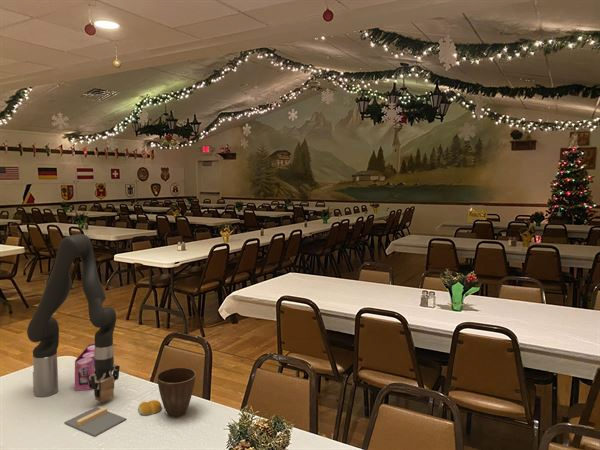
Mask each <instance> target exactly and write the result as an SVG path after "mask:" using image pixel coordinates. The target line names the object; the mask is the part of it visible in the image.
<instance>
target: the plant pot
mask: <svg viewBox="0 0 600 450" xmlns="http://www.w3.org/2000/svg"><path fill="white" fill-rule="evenodd" d="M156 380H157V385H158V391H159V396H160V398H161V402H162V405H163V408H164V411H165V413H166V415H167V416H168V417H170V418H180V417H183V416H184V415H186V413H187V411H188V409H189V406H190V403H191V399H192V397H193V392H194V387H195V381H196V371H195V370H193V369H192V368H188V367H173V368H167V369H165V370H163V371H160V372H159V373H158V374H157V376H156Z"/></svg>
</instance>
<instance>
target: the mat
mask: <svg viewBox="0 0 600 450" xmlns="http://www.w3.org/2000/svg"><path fill="white" fill-rule="evenodd" d="M126 420H127V418H126V417H123V416H121V415H118V414H116V413H113V412H110V411H109V410H108V408H106V407H102V408H100V407H97V406H95V407H93V408H91V409H89V410H87V411H85V412H83V413H81V414H79V415H76V416H74V417H72V418H69V419H67V420H66V421H64V422H63V423H64V425H67V426H69V427H71V428H73V429H76V430H78V431H80V432H83V433H85V434H87V435H90V436H91V437H94V438H96V437H98V436H99V435H101V434H103V433H105V432H107V431H109V430H111V429H112V428H114V427H116V426H118V425H120V424H122V423H123V422H124V423H125V422H126Z"/></svg>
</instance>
